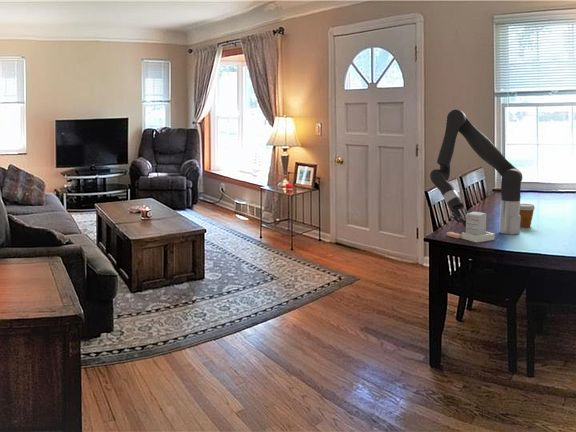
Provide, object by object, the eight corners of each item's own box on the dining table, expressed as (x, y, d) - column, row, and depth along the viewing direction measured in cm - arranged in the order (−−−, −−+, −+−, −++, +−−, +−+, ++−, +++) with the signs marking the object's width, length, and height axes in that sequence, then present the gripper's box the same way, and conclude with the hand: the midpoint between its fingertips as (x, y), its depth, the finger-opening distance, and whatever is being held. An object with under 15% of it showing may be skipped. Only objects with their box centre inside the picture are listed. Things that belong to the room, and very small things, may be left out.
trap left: (462, 237, 278) (462, 234, 278) (457, 238, 277) (457, 235, 277) (451, 234, 285) (451, 231, 285) (446, 235, 284) (446, 232, 284)
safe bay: (494, 239, 273) (494, 233, 273) (476, 242, 268) (476, 236, 268) (479, 235, 282) (479, 229, 282) (461, 238, 277) (461, 232, 277)
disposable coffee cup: (536, 226, 302) (537, 204, 300) (529, 229, 296) (531, 207, 293) (518, 224, 309) (520, 202, 307) (511, 226, 302) (513, 205, 300)
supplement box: (472, 235, 283) (473, 211, 280) (485, 237, 277) (487, 213, 275) (464, 237, 278) (466, 213, 275) (478, 240, 272) (479, 215, 270)
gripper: (447, 197, 283) (462, 225, 275) (466, 195, 289) (482, 222, 280) (439, 206, 289) (454, 233, 281) (459, 203, 294) (474, 230, 286)
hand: (468, 228), depth 280 cm, fingers closed
